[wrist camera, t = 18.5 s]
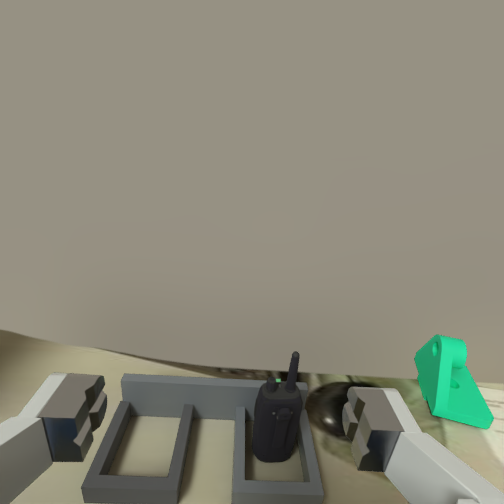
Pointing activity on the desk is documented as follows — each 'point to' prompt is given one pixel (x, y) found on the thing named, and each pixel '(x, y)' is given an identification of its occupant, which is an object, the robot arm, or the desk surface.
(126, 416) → the grey rectangular frame
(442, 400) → the camera mount
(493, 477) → the desk surface
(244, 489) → the dock
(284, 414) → the two-way radio
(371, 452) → the robot arm
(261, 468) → the desk surface
